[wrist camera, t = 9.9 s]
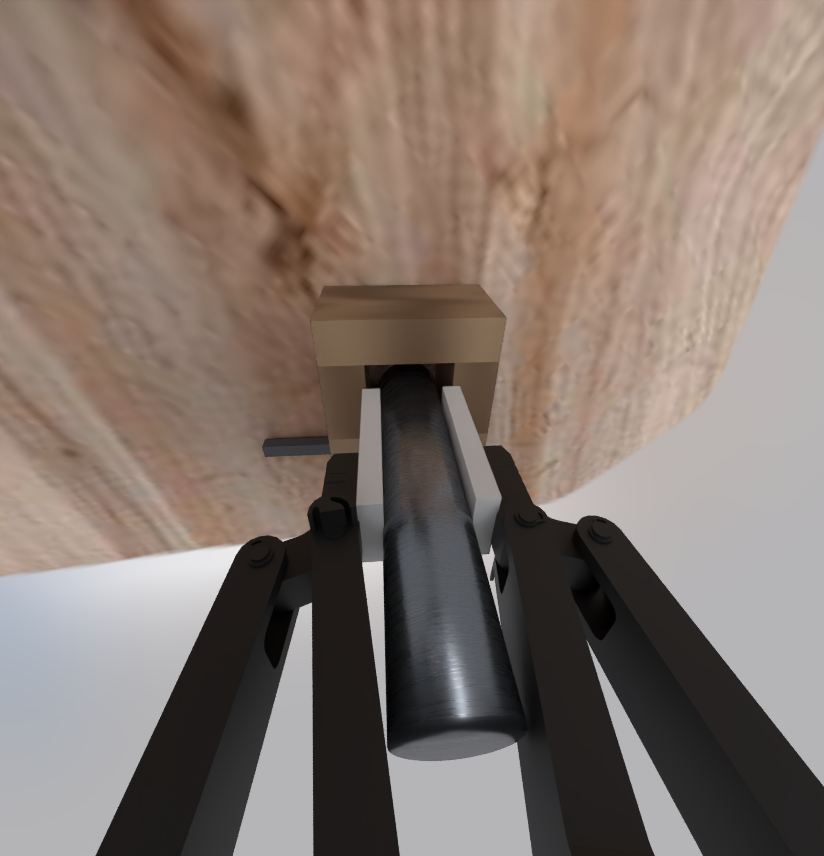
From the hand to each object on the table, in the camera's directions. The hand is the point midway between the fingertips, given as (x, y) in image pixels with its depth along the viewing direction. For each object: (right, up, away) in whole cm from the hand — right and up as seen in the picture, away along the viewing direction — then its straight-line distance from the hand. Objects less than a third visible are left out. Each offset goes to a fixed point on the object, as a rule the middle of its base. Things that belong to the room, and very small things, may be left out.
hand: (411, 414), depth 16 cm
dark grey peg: (0, +1, +2) cm, 3 cm away
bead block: (0, +3, +5) cm, 6 cm away
